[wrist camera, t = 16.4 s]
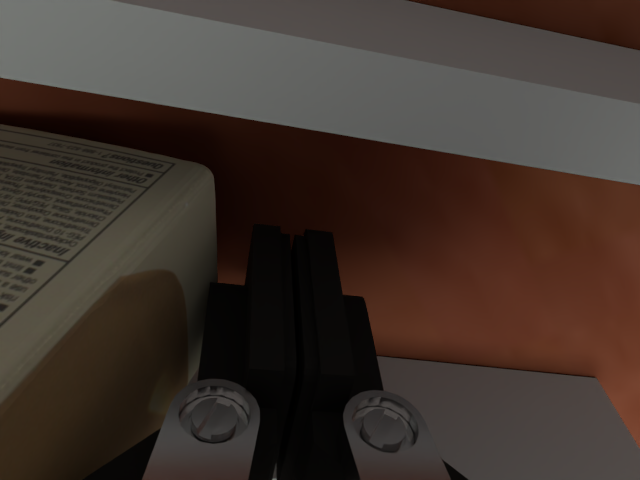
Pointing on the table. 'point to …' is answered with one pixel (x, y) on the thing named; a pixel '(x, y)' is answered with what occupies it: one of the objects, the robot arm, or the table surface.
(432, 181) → the table surface
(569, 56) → the bay
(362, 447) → the robot arm
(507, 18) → the table surface
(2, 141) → the skincare box
